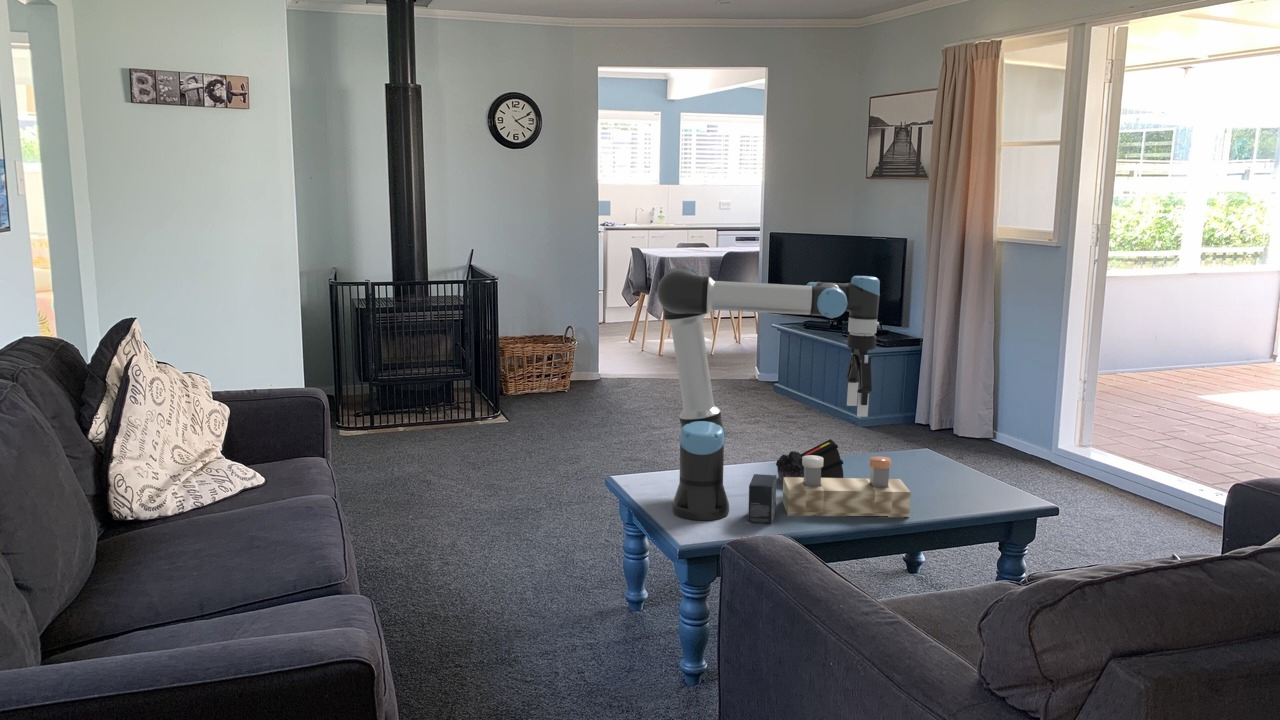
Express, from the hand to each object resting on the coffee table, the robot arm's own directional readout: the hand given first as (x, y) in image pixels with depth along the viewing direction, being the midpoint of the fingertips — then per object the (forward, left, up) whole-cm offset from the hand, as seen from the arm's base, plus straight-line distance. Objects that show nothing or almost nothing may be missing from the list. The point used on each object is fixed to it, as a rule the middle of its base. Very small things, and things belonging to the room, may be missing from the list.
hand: (856, 411), depth 265 cm
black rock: (-12, +21, -26) cm, 36 cm away
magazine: (-7, +10, -26) cm, 29 cm away
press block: (-3, -6, -26) cm, 27 cm away
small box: (-26, -14, -26) cm, 40 cm away
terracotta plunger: (+6, -6, -19) cm, 21 cm away
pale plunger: (-12, -6, -19) cm, 24 cm away
